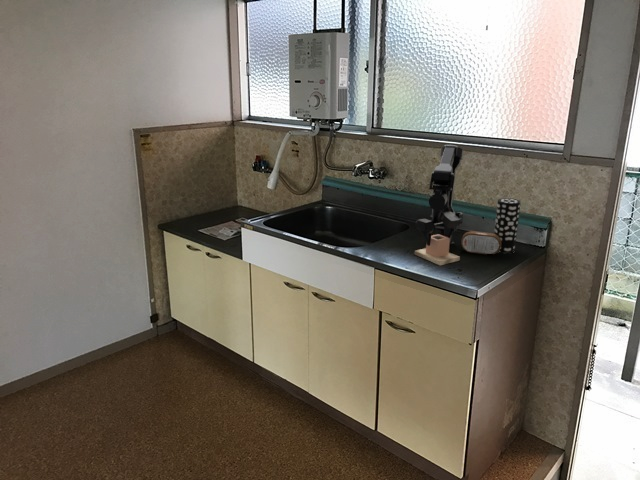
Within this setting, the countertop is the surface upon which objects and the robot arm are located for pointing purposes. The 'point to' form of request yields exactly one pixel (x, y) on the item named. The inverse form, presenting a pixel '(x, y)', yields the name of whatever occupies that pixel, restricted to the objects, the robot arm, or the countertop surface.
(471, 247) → the tin
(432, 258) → the post stand
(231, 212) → the countertop surface
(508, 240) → the spotted tube
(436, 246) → the collar
